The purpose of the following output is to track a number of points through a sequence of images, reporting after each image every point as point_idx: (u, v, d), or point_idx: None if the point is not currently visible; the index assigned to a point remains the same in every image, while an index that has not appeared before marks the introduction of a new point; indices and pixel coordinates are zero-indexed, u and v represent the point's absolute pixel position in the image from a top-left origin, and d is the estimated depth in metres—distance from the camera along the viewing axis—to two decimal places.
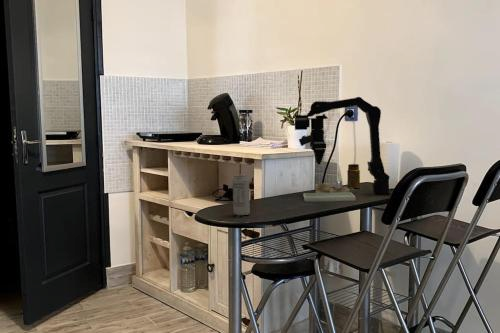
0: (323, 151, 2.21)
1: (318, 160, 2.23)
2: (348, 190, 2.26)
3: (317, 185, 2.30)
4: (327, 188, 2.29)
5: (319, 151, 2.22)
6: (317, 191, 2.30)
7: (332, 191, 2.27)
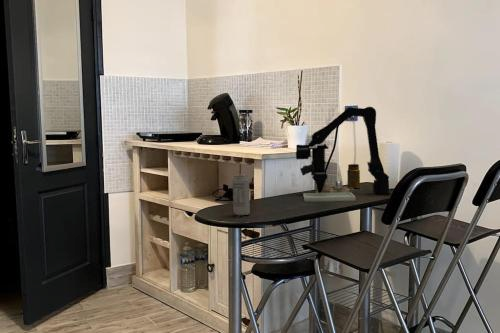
0: (324, 180, 2.27)
1: (319, 189, 2.29)
2: (348, 190, 2.26)
3: None
4: (327, 188, 2.29)
5: (320, 180, 2.28)
6: (317, 191, 2.30)
7: (332, 191, 2.27)
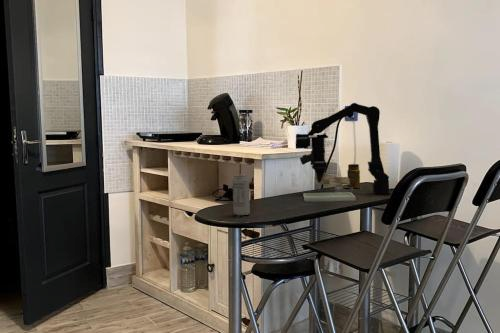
0: (323, 170, 2.27)
1: (318, 178, 2.28)
2: (348, 179, 2.26)
3: None
4: (327, 177, 2.29)
5: (319, 170, 2.27)
6: (317, 180, 2.29)
7: (332, 180, 2.26)
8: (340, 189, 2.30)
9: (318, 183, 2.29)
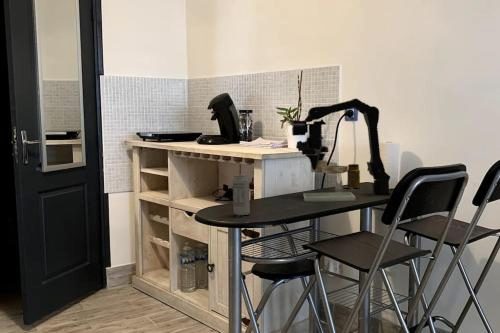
0: (316, 157, 2.22)
1: (313, 165, 2.24)
2: (340, 168, 2.17)
3: None
4: (321, 165, 2.23)
5: (313, 157, 2.23)
6: None
7: (324, 168, 2.20)
8: (340, 189, 2.30)
9: (313, 170, 2.25)
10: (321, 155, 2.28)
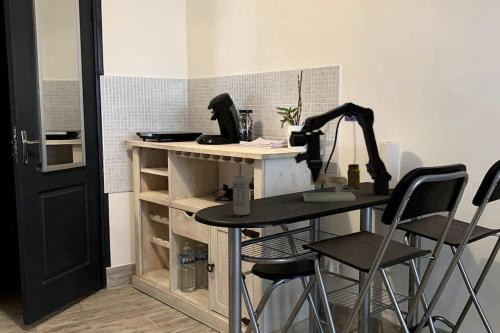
0: (319, 169, 2.13)
1: (314, 178, 2.15)
2: (345, 179, 2.12)
3: None
4: (323, 177, 2.15)
5: (315, 169, 2.14)
6: (312, 180, 2.15)
7: (328, 180, 2.13)
8: (340, 189, 2.30)
9: (314, 183, 2.16)
10: None
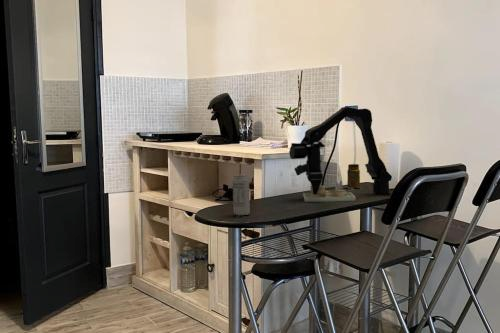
0: (319, 181, 2.12)
1: (314, 190, 2.14)
2: (345, 193, 2.12)
3: (312, 188, 2.16)
4: (323, 191, 2.16)
5: (315, 181, 2.13)
6: (312, 194, 2.16)
7: (328, 194, 2.13)
8: (340, 189, 2.30)
9: None
10: None
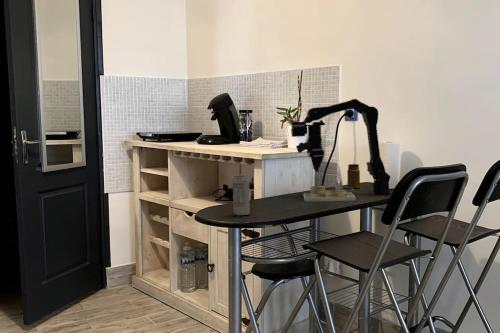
0: (321, 158, 2.18)
1: (316, 167, 2.20)
2: (345, 193, 2.12)
3: (312, 188, 2.16)
4: (323, 191, 2.16)
5: (317, 158, 2.19)
6: (312, 194, 2.16)
7: (328, 194, 2.13)
8: (340, 189, 2.30)
9: None
10: None
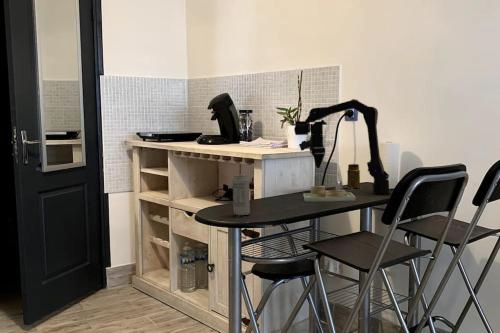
0: (322, 156, 2.32)
1: (317, 164, 2.33)
2: (345, 193, 2.12)
3: (312, 188, 2.16)
4: (323, 191, 2.16)
5: (318, 156, 2.32)
6: (312, 194, 2.16)
7: (328, 194, 2.13)
8: (340, 189, 2.30)
9: None
10: None
